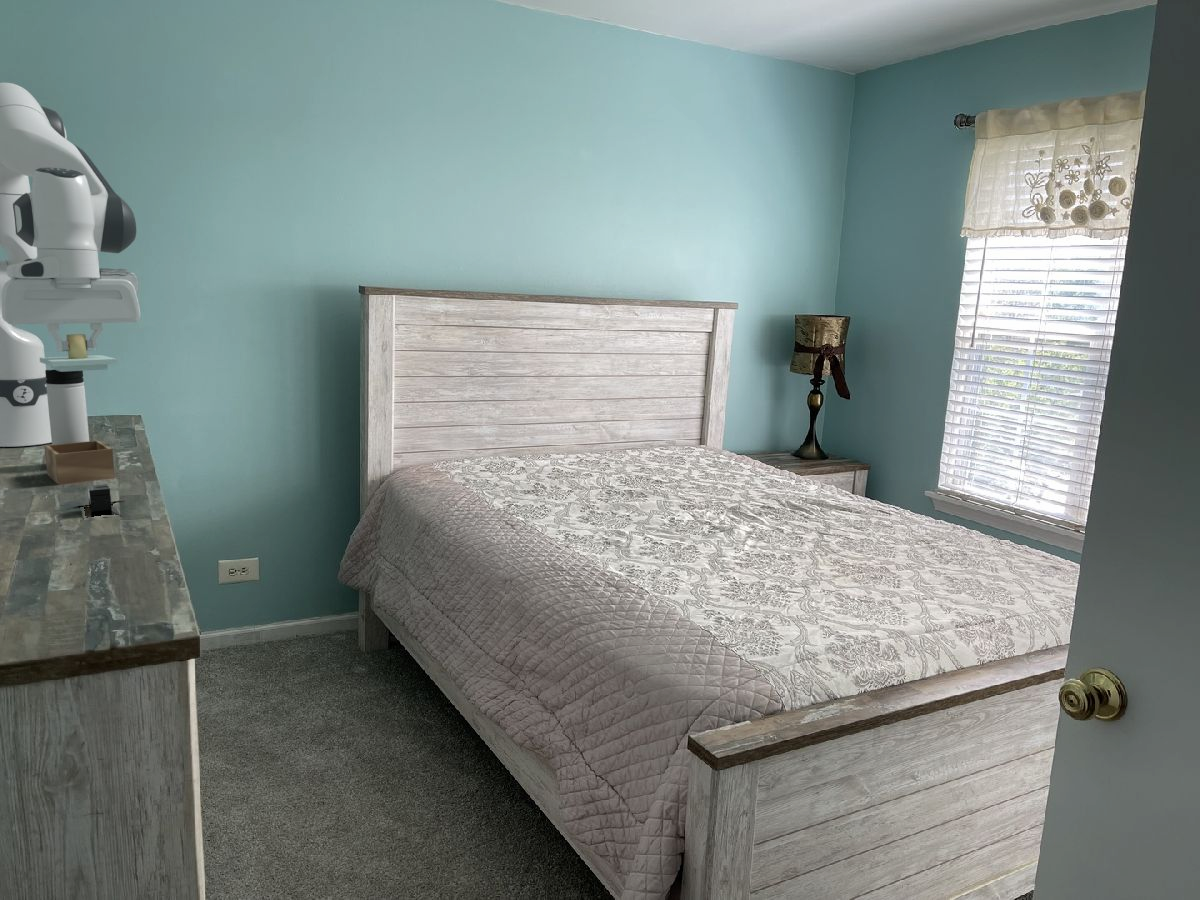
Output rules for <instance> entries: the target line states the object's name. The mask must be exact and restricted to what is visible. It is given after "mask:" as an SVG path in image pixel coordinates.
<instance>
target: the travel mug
mask: <svg viewBox="0 0 1200 900" xmlns="http://www.w3.org/2000/svg"><path fill="white" fill-rule="evenodd" d="M45 374H46V378H47V380H46V386H47V398H48V408H49V419H50V429H51V439H52V442H51V445H55V444H66V443H77V442H88V441H90V435H89V423H88V411H87V403H86V402H87V398H86V390H85V385H84V384H85V381H84V378H83V377H84V371H64V372H60V371H57V370H54V369H46V370H45Z"/></svg>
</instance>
